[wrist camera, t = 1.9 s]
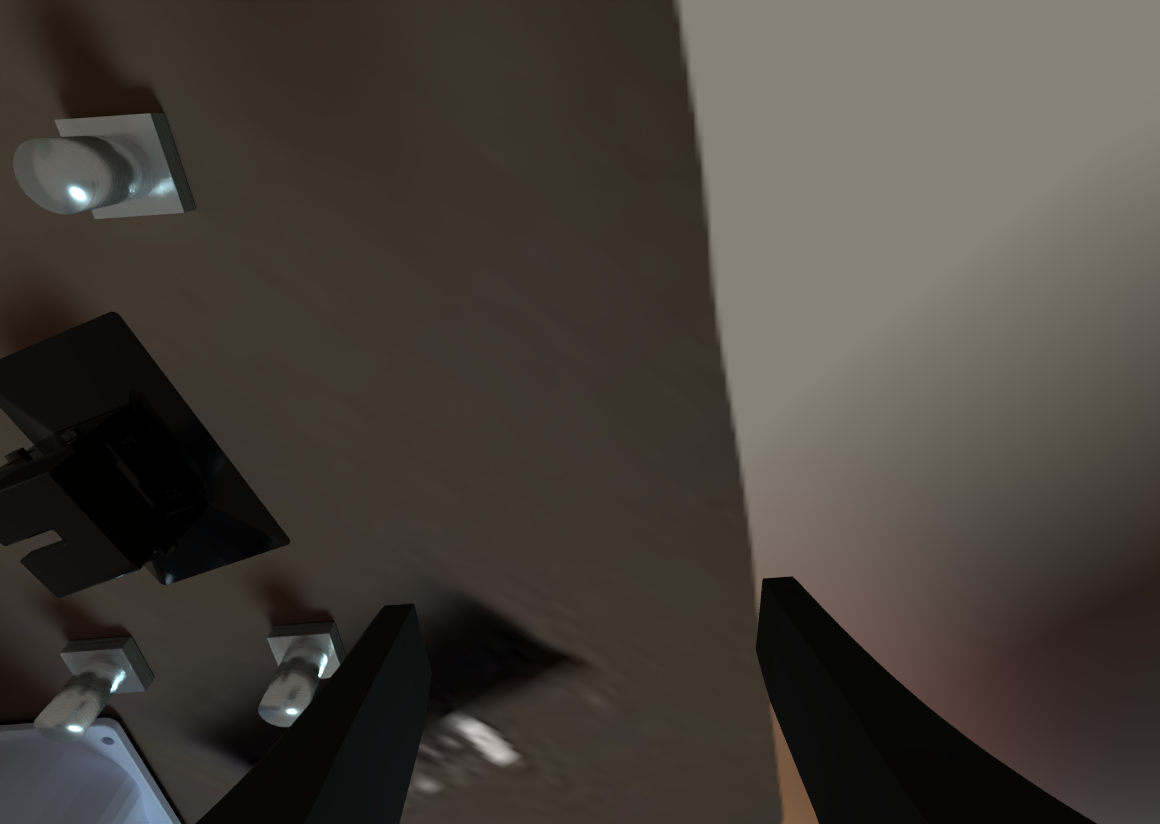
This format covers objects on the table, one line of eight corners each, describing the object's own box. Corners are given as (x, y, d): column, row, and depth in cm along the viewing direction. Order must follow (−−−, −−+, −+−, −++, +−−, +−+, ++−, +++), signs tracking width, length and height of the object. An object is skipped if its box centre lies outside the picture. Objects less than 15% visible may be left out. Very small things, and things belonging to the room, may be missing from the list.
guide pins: (348, 664, 25) (323, 731, 22) (95, 683, 25) (40, 752, 22) (163, 112, 16) (83, 114, 13) (-237, 141, 16) (-401, 147, 13)
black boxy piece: (-73, 328, 19) (-254, 389, 15) (125, 243, 18) (-8, 282, 14) (179, 609, 24) (98, 712, 20) (341, 554, 23) (293, 651, 19)
